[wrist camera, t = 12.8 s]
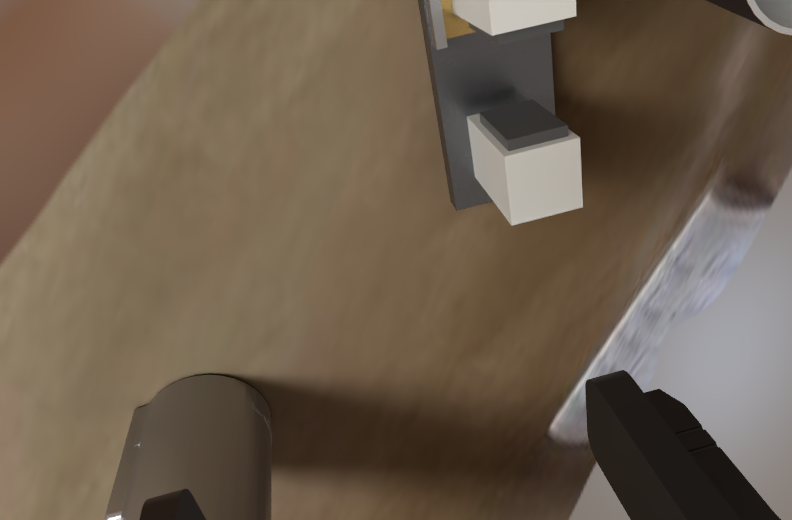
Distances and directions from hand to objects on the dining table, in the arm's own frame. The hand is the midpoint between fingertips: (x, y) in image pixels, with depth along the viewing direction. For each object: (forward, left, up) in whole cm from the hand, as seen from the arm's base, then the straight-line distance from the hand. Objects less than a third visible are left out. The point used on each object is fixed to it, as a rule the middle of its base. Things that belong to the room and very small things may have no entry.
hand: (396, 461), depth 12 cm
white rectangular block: (+11, -5, -27) cm, 29 cm away
